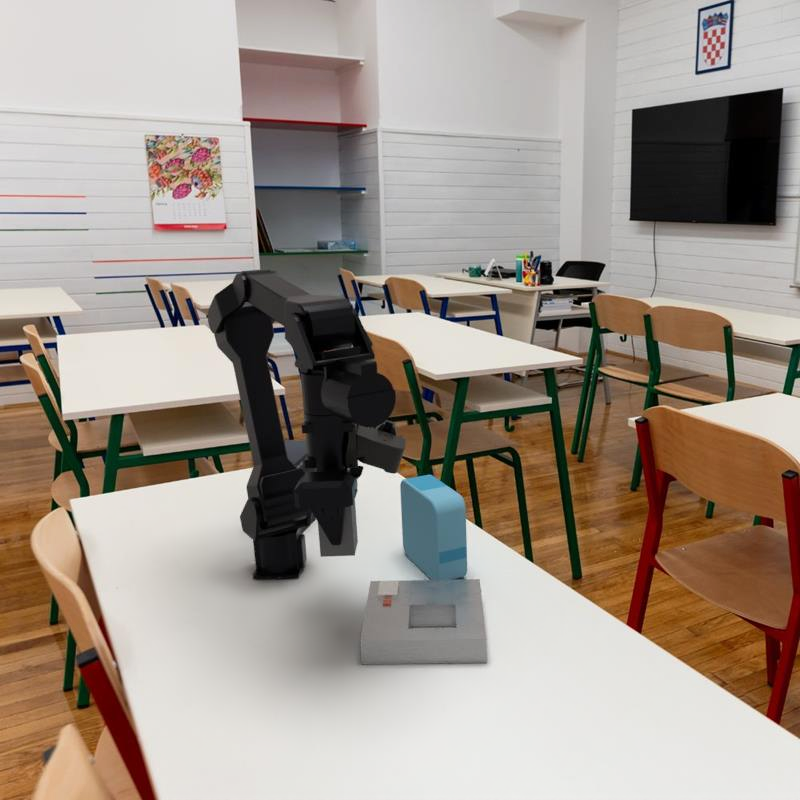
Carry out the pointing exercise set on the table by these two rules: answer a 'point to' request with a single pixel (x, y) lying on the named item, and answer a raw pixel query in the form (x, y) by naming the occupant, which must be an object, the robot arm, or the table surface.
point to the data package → (434, 527)
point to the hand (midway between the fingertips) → (338, 537)
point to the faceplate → (424, 622)
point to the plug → (348, 536)
